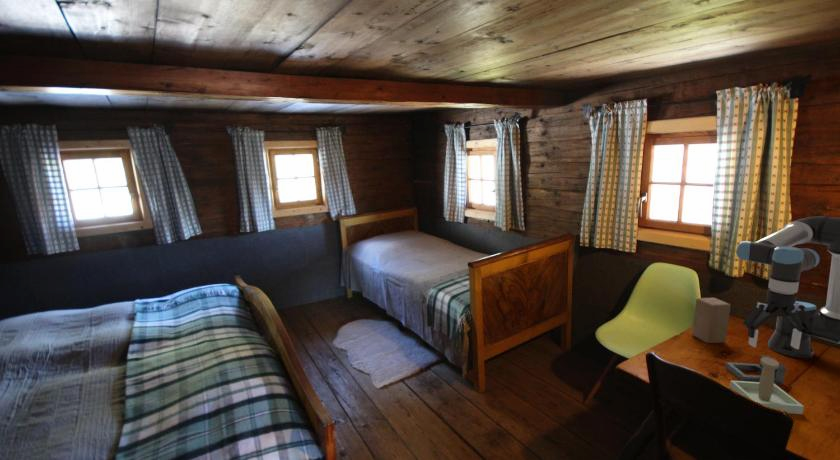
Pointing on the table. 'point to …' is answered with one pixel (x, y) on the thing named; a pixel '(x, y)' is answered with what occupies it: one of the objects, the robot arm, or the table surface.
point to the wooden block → (711, 320)
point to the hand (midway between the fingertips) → (773, 346)
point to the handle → (767, 377)
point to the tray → (776, 401)
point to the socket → (736, 368)
